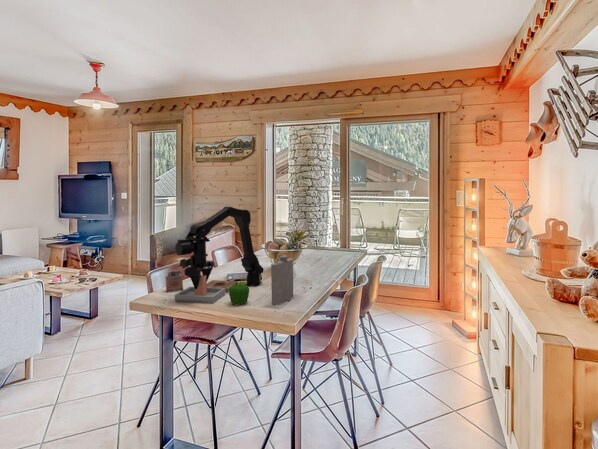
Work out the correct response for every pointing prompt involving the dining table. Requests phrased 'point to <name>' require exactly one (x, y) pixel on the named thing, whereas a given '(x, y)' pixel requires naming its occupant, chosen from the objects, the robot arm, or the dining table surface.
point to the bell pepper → (239, 293)
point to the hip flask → (282, 280)
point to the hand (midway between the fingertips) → (200, 286)
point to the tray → (190, 296)
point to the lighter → (174, 281)
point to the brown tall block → (202, 287)
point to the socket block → (221, 284)
